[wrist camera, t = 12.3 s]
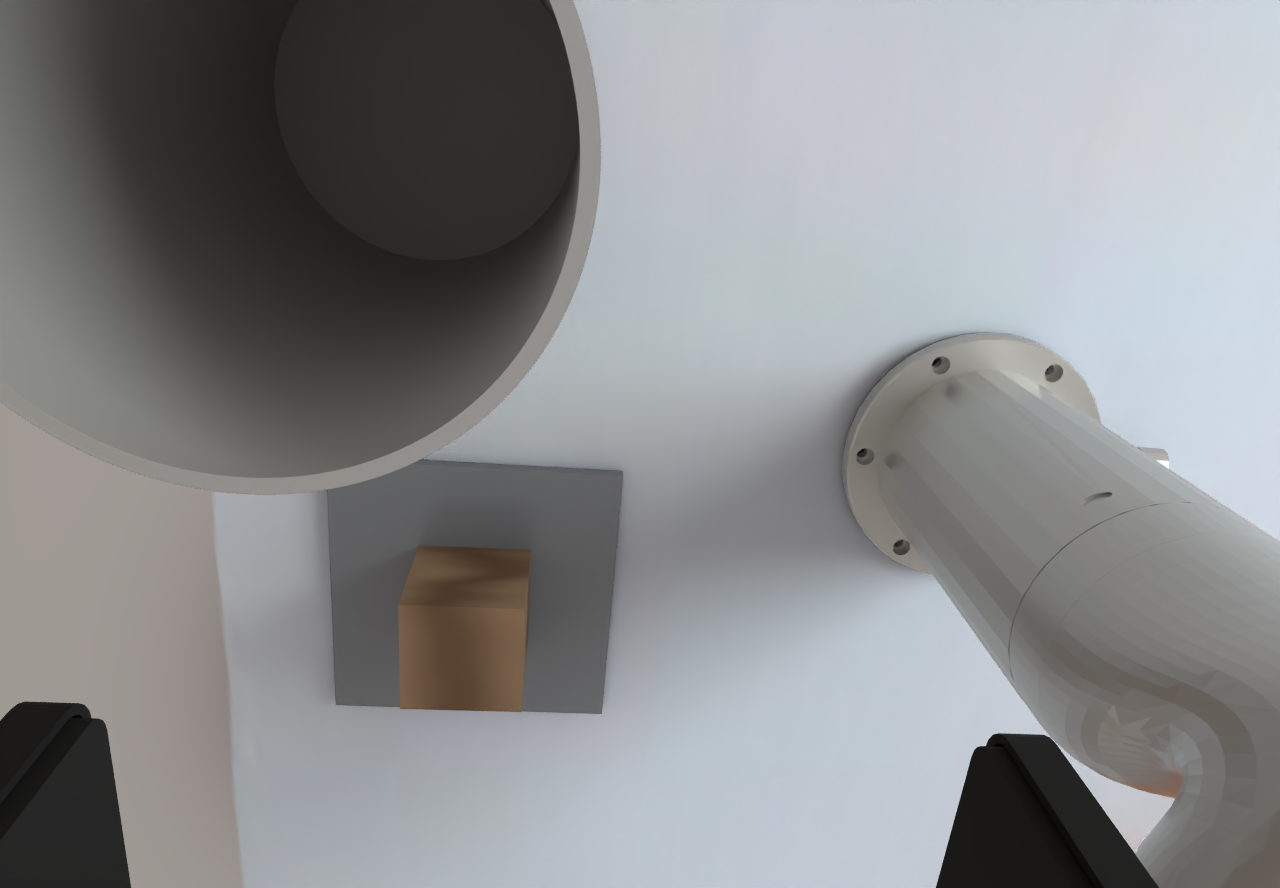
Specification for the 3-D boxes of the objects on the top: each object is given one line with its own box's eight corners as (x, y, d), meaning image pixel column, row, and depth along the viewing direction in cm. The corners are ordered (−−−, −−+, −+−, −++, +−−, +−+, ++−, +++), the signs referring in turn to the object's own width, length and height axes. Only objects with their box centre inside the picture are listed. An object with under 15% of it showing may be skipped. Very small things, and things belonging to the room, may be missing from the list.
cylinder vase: (510, 306, 41) (421, 592, 18) (241, 171, 39) (-268, 307, 15) (640, 41, 38) (737, -23, 15) (353, -129, 35) (-97, -544, 12)
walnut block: (531, 549, 45) (525, 609, 40) (527, 643, 47) (521, 711, 42) (418, 545, 45) (398, 604, 40) (419, 640, 47) (400, 708, 42)
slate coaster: (622, 471, 45) (622, 476, 44) (601, 706, 50) (601, 713, 49) (329, 454, 44) (326, 459, 43) (338, 697, 49) (335, 704, 48)
